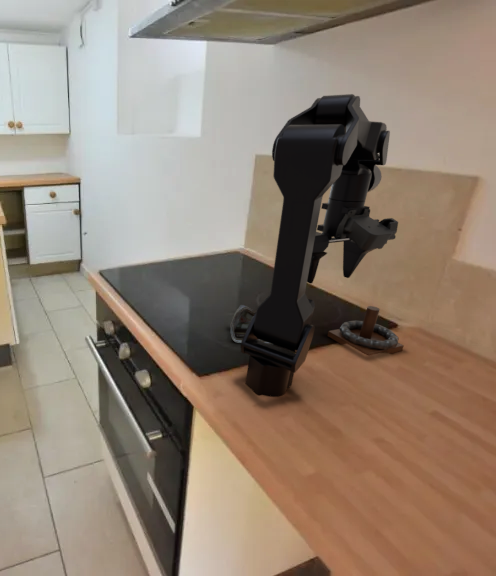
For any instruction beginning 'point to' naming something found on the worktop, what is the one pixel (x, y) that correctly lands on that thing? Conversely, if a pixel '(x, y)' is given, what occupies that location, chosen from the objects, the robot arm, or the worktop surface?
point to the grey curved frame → (241, 323)
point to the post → (365, 334)
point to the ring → (369, 343)
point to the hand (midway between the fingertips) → (328, 280)
